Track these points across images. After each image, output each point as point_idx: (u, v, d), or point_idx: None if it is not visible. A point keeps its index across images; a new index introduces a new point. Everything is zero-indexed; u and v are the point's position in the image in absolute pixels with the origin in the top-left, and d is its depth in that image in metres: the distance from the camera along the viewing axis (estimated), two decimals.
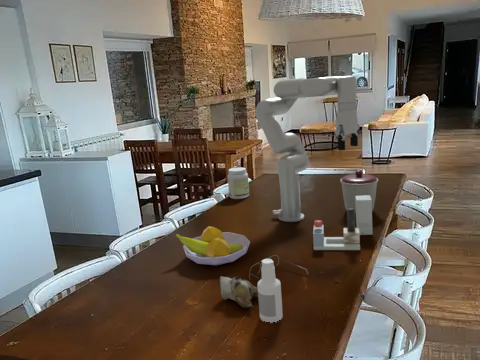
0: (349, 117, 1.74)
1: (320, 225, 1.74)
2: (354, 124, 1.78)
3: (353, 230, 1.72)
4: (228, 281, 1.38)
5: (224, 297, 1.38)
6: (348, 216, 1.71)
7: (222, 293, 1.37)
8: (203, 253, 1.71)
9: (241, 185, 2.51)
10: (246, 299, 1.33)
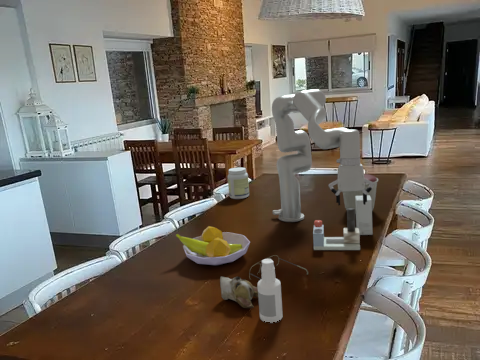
0: None
1: (320, 225, 1.74)
2: None
3: (353, 230, 1.72)
4: (228, 281, 1.38)
5: (224, 297, 1.37)
6: (348, 216, 1.71)
7: (222, 293, 1.37)
8: (203, 253, 1.71)
9: (241, 185, 2.51)
10: (247, 299, 1.33)
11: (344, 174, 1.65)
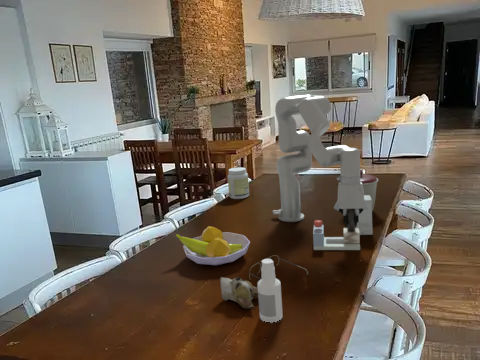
0: None
1: (320, 225, 1.74)
2: None
3: (353, 230, 1.72)
4: (229, 282, 1.38)
5: (225, 298, 1.37)
6: (348, 216, 1.71)
7: (223, 294, 1.36)
8: (203, 253, 1.71)
9: (241, 185, 2.51)
10: (247, 300, 1.33)
11: (344, 192, 1.67)
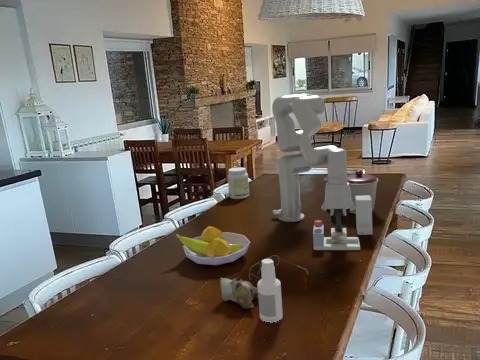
0: None
1: (320, 225, 1.74)
2: None
3: (340, 230, 1.73)
4: (229, 282, 1.37)
5: (225, 299, 1.37)
6: (335, 216, 1.72)
7: (223, 295, 1.36)
8: (203, 253, 1.71)
9: (241, 185, 2.51)
10: (248, 300, 1.33)
11: (331, 192, 1.68)
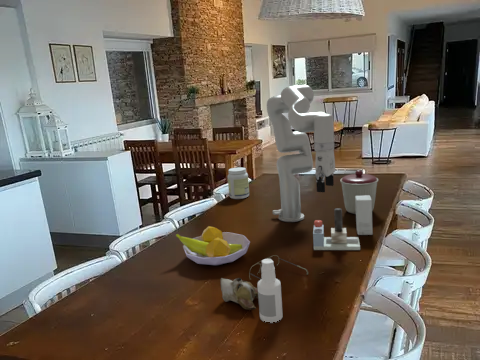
0: None
1: (320, 225, 1.74)
2: None
3: (340, 230, 1.73)
4: (229, 283, 1.37)
5: (225, 299, 1.36)
6: (335, 216, 1.72)
7: (223, 295, 1.35)
8: (203, 253, 1.71)
9: (241, 185, 2.51)
10: (248, 301, 1.32)
11: (329, 158, 1.64)
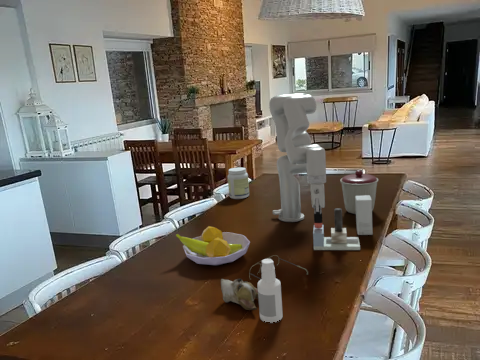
0: None
1: (320, 226, 1.74)
2: None
3: (340, 230, 1.73)
4: (230, 284, 1.37)
5: (226, 300, 1.36)
6: (335, 216, 1.72)
7: (224, 296, 1.35)
8: (203, 253, 1.71)
9: (241, 185, 2.51)
10: (249, 301, 1.32)
11: (323, 190, 1.69)
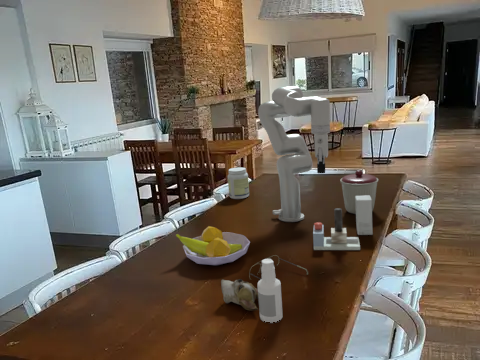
0: None
1: (320, 227, 1.74)
2: None
3: (340, 230, 1.73)
4: (230, 284, 1.36)
5: (226, 301, 1.35)
6: (335, 216, 1.72)
7: (225, 297, 1.35)
8: (203, 253, 1.71)
9: (241, 185, 2.51)
10: (250, 302, 1.32)
11: (327, 140, 1.73)
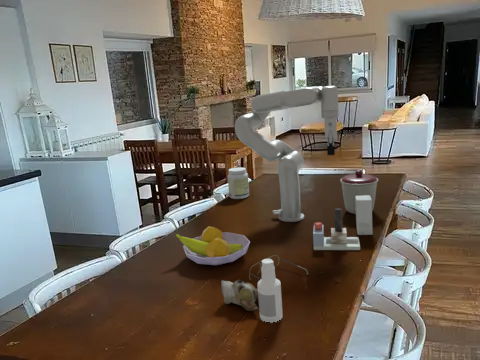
0: None
1: (320, 227, 1.74)
2: None
3: (340, 230, 1.73)
4: (230, 285, 1.36)
5: (227, 302, 1.35)
6: (335, 216, 1.72)
7: (225, 298, 1.34)
8: (203, 253, 1.71)
9: (241, 185, 2.51)
10: (251, 302, 1.31)
11: (336, 124, 1.90)
